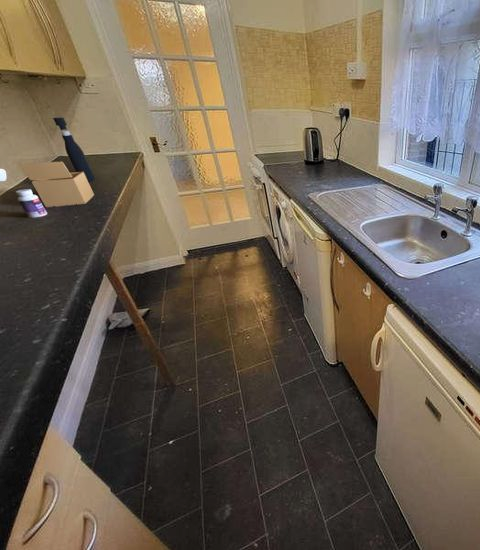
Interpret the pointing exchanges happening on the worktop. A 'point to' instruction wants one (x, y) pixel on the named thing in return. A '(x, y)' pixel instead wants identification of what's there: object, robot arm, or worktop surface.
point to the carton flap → (45, 170)
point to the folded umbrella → (74, 151)
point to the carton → (64, 190)
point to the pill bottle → (31, 203)
